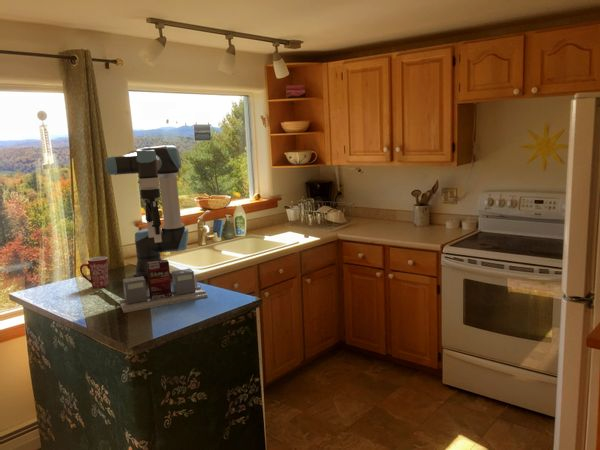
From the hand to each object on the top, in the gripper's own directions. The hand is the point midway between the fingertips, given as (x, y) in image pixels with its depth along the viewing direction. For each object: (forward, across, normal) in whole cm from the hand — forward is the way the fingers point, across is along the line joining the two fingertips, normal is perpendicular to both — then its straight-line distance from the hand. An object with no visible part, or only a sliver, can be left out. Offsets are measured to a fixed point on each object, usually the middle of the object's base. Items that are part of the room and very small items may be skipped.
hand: (155, 239), depth 208 cm
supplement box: (+25, 0, 0) cm, 25 cm away
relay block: (+26, -11, +15) cm, 32 cm away
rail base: (+26, 0, +1) cm, 26 cm away
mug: (+27, -43, -22) cm, 55 cm away
